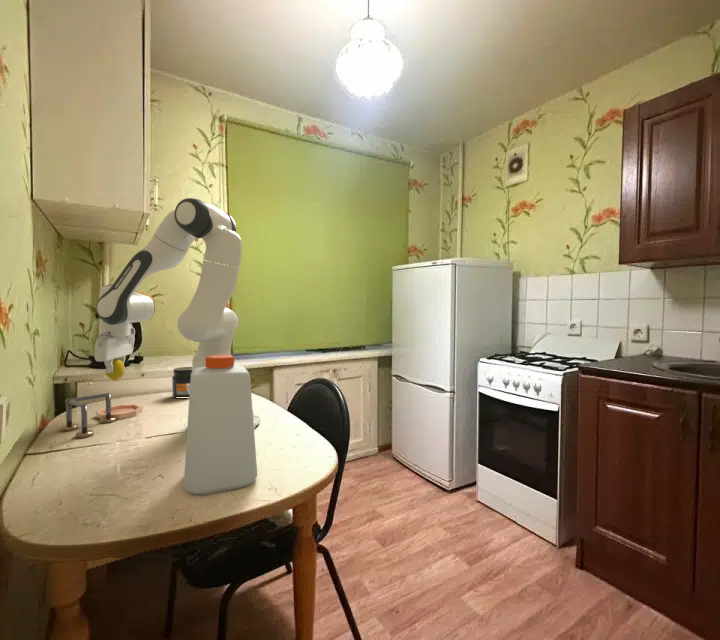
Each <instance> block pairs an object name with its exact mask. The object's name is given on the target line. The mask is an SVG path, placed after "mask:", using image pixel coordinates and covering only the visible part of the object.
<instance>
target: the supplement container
mask: <svg viewBox="0 0 720 640" xmlns="http://www.w3.org/2000/svg"><path fill="white" fill-rule="evenodd" d="M172 371H173V376H171V380H172V383H171V385H172V386H171V387H172V394H171V395H172V397H173V396H174V397H189V395H190V379H191V372H192V366H183V367H182V366H181V367H176V368H173V370H172ZM174 397H173V398H174Z"/></svg>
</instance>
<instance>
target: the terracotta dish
mask: <svg viewBox="0 0 720 640" xmlns="http://www.w3.org/2000/svg"><path fill="white" fill-rule="evenodd" d="M139 413H140V414H141V413H143V406H141V405H138V404H136V403H135V404H134V403H133V404H117V405H111V417H116V421H117V420H122V419H128V417H129V418H133V417H136V416H138V415H140V414H139ZM95 414H96V418H97V419H99V420H101V419H102V418H105V417H106V407H103V408H101V409H100V410H98V411H96V412H95Z"/></svg>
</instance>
